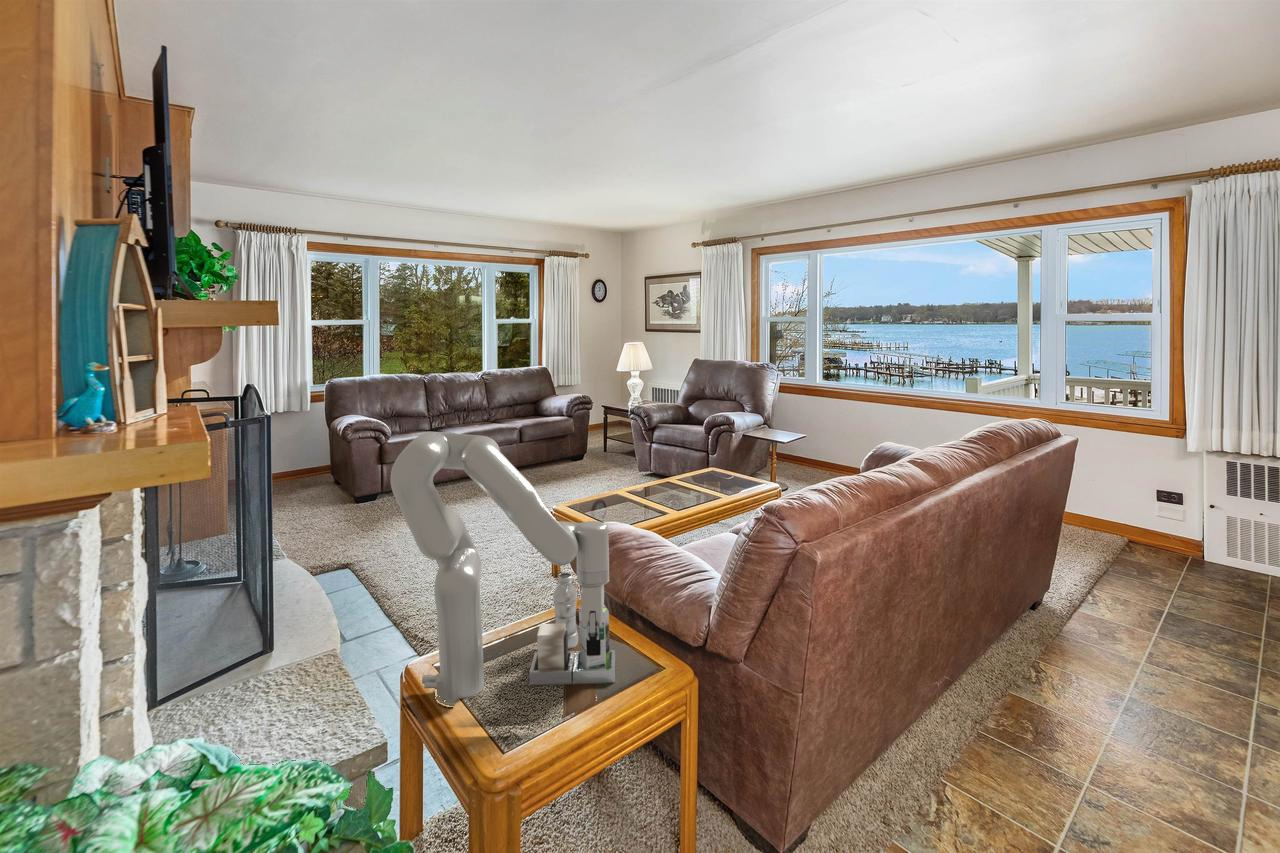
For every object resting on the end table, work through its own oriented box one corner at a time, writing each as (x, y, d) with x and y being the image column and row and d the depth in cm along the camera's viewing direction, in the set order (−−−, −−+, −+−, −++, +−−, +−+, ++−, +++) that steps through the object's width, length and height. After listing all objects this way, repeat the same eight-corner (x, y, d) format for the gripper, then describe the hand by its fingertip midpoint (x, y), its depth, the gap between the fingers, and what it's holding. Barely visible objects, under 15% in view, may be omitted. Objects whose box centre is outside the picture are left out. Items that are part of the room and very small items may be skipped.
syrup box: (586, 674, 142) (585, 614, 140) (579, 662, 148) (578, 604, 146) (610, 669, 144) (609, 610, 143) (602, 657, 150) (601, 600, 148)
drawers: (528, 691, 141) (528, 672, 140) (534, 669, 151) (534, 651, 150) (615, 688, 142) (615, 670, 141) (615, 666, 152) (615, 649, 151)
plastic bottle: (580, 643, 164) (579, 571, 162) (575, 655, 157) (574, 580, 155) (557, 642, 165) (555, 570, 162) (551, 654, 158) (549, 579, 155)
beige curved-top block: (538, 680, 143) (537, 635, 141) (541, 667, 149) (540, 624, 147) (566, 679, 143) (565, 634, 142) (568, 666, 149) (567, 623, 148)
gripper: (579, 562, 152) (580, 630, 154) (574, 589, 134) (576, 666, 137) (609, 561, 152) (610, 630, 154) (608, 588, 135) (609, 665, 137)
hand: (594, 646), depth 145 cm, fingers closed on syrup box, 7 cm apart
